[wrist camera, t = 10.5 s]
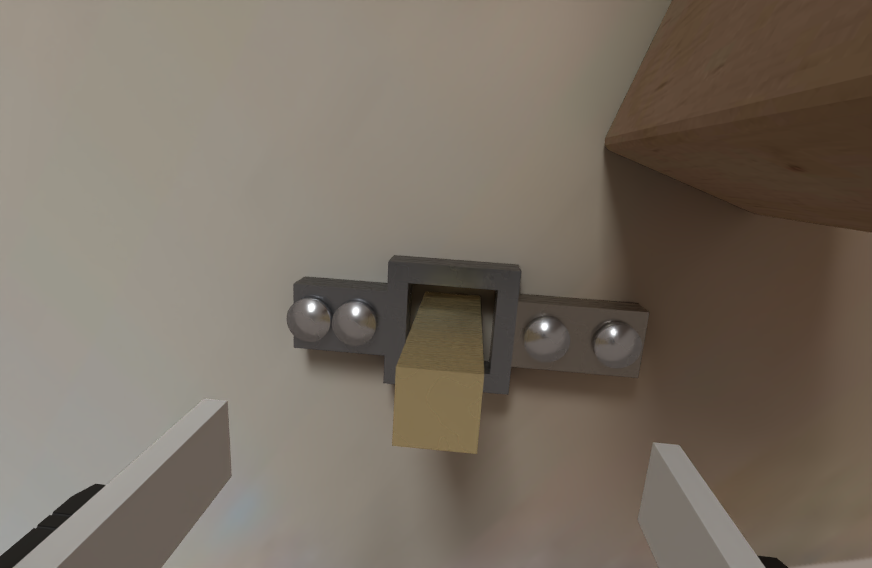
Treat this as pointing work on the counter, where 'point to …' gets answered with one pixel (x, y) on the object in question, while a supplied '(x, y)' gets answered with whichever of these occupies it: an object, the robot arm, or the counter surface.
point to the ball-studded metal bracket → (511, 331)
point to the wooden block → (759, 106)
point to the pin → (441, 376)
